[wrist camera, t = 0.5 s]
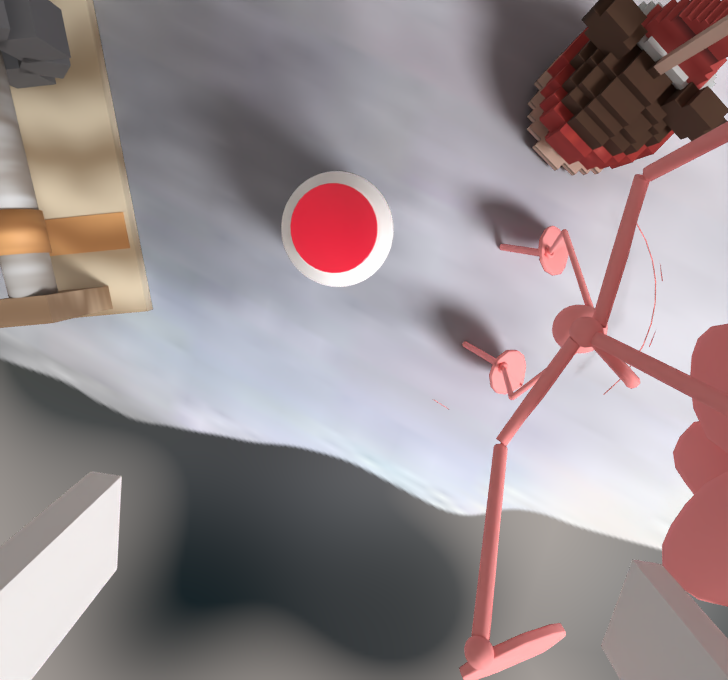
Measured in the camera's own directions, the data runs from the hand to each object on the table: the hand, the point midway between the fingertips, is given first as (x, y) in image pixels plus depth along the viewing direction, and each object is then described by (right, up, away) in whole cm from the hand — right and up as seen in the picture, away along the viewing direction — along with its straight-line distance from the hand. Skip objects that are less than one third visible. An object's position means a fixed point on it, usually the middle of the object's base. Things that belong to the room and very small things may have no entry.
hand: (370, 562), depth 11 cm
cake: (+18, +24, +25) cm, 39 cm away
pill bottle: (-2, +15, +27) cm, 31 cm away
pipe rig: (-26, +22, +26) cm, 42 cm away
